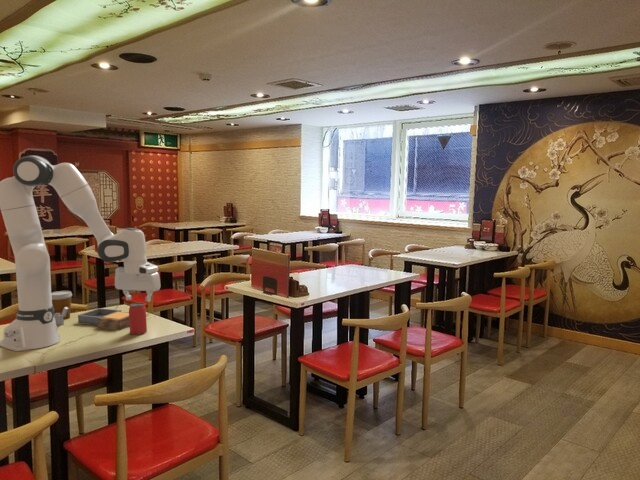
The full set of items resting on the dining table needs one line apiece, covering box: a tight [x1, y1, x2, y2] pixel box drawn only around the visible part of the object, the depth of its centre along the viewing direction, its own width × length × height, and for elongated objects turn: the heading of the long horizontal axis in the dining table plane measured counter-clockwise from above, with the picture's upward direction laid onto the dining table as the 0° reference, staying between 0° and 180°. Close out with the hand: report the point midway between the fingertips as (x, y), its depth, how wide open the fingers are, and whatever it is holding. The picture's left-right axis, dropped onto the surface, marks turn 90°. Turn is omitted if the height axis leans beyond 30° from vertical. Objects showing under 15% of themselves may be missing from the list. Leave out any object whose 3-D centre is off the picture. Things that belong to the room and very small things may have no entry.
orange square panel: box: [103, 311, 129, 320], centre depth 209 cm, size 9×9×1 cm
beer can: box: [128, 302, 148, 336], centre depth 198 cm, size 7×7×12 cm
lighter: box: [53, 307, 69, 327], centre depth 209 cm, size 7×2×8 cm, turn 83°
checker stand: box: [97, 311, 130, 331], centre depth 210 cm, size 12×12×4 cm
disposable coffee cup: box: [51, 290, 73, 321], centre depth 219 cm, size 10×10×12 cm
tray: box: [77, 307, 122, 326], centre depth 217 cm, size 13×13×4 cm
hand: (138, 300), depth 197 cm, fingers open, 8 cm apart
